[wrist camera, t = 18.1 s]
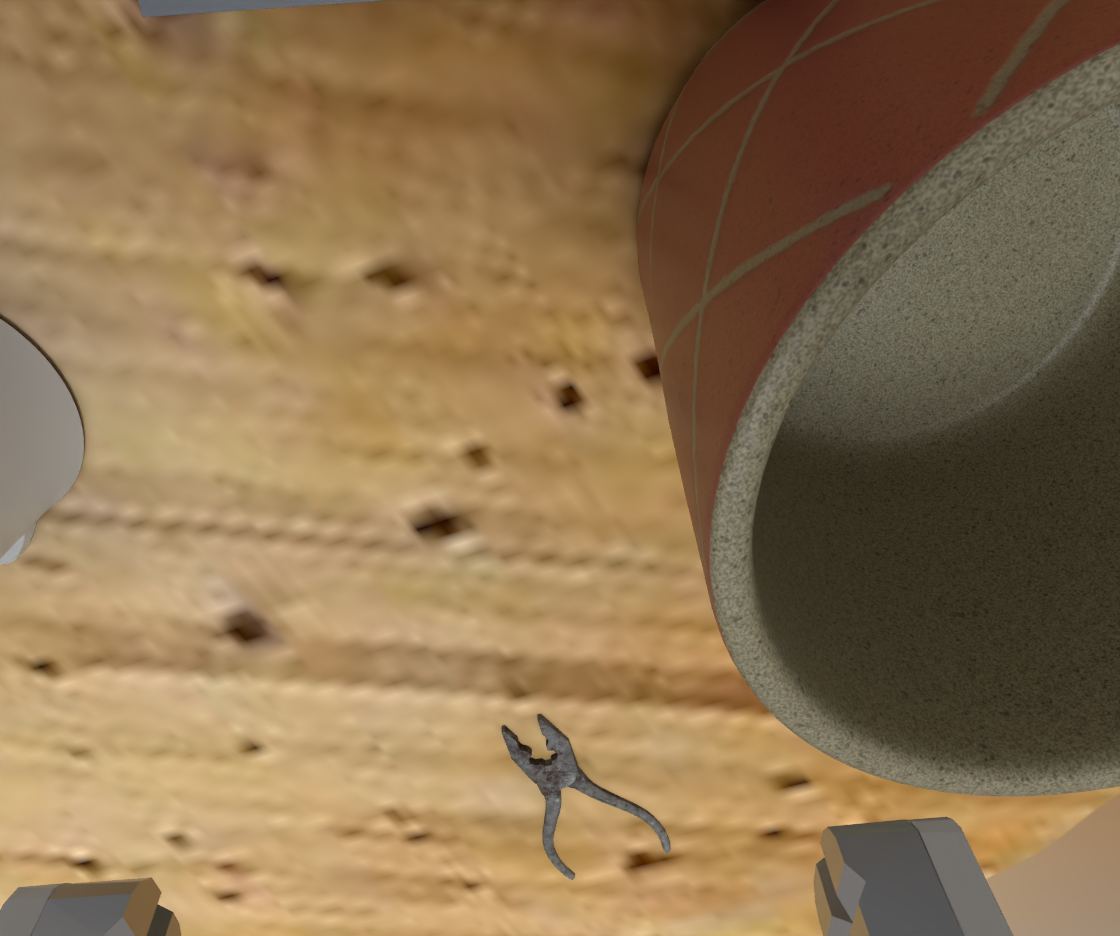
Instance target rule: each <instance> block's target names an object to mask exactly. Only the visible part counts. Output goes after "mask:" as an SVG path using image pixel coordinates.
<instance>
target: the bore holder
mask: <svg viewBox="0 0 1120 936" xmlns="http://www.w3.org/2000/svg"><path fill="white" fill-rule="evenodd" d="M369 1H383V0H138V3H139V6H140V9H141V13H142V16H143V17H152V16H167V15H181V14H196V13H210V12H224V11H239V10H253V9H268V8H282V7H297V6H311V5H325V4H340V3H354V2H369Z"/></svg>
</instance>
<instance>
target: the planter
mask: <svg viewBox="0 0 1120 936" xmlns="http://www.w3.org/2000/svg"><path fill="white" fill-rule="evenodd" d="M637 252H638V264H639V271H640V279H641V283H642V288H643V292H644V297H645V301H646V305H647V310H648V314H649V318H650V323H651V328H652V333H653V338H654V343H655V348H656V353H657V357H658V363H659V369H660V374H661V380H662V386H663V391H664V397H665V403H666V408H667V414H668V420H669V424H670V429H671V433H672V438H673V442H674V447H675V451H676V456H677V460H678V465H679V469H680V473H681V478H682V482H683V487H684V491H685V495H686V500H687V504H688V508H689V512H690V516H691V521H692V525H693V529H694V533H695V537H696V541H697V546H698V550H699V554H700V558H701V562H702V567H703V571H704V575H705V580H706V584H707V589H708V593H709V597H710V602H711V606H712V610H713V613H714V616H715V619H716V622H717V625H718V628H719V631H720V633H721V636H722V639H723V641H724V643H725V646H726V648H727V650H728V652H729V654H730V656H731V659H732V661H733V662H734V664H735V665H736V667H737V669H738V670H739V672H740V674H741V675H742V677H743V679H744V680H745V682H746V683H747V684H748V686H749V687H750V688H751V690H752V691H753V692H754V693H755V695H756V696H757V697H758V699H759V700H760V701H761V702H762V704H763V705H764V706H765V707H766V708H767V709H768V710H769V711H770V712H771V713H772V714H773V715H774V716H775V717H776V718H777V719H778V720H779V721H780V722H781V723H783V724H784V725H785V726H786V727H787V728H788V729H790V730H791V731H792V732H793V733H794V734H796V735H797V736H799V737H800V738H802V739H803V740H804V741H806V742H807V743H809V744H810V745H811V746H813V747H815V748H816V749H818V750H820V751H822V752H823V753H825V754H827V755H829V756H830V757H832V758H834V759H836V760H838V761H840V762H843V763H845V764H847V765H849V766H851V767H853V768H856V769H859V770H861V771H864V772H866V773H869V774H872V775H874V776H877V777H881V778H884V779H887V780H891V781H894V782H897V783H902V784H906V785H910V786H915V787H919V788H924V789H930V790H936V791H942V792H949V793H959V794H969V795H985V796H1038V795H1056V794H1066V793H1076V792H1085V791H1092V790H1099V789H1105V788H1112V787H1118V786H1120V0H765V1H763V2H762V3H760V4H759V5H757V6H756V7H755V8H753V9H752V10H751V11H749V12H748V13H747V14H745V15H744V16H743V17H742V18H741V19H739V20H738V21H737V22H736V23H735V24H734V25H732V26H731V27H730V28H729V29H728V30H727V31H726V32H725V33H724V34H723V35H722V36H721V37H720V38H719V39H718V40H717V41H716V42H715V44H714V45H713V46H712V47H711V48H710V49H709V50H708V52H707V53H706V54H705V55H704V57H703V58H702V60H701V61H700V63H699V64H698V66H697V67H696V69H695V70H694V72H693V73H692V75H691V76H690V78H689V80H688V81H687V83H686V84H685V86H684V88H683V89H682V91H681V93H680V94H679V96H678V98H677V99H676V101H675V103H674V105H673V106H672V108H671V110H670V112H669V114H668V116H667V118H666V120H665V122H664V124H663V126H662V128H661V130H660V133H659V135H658V137H657V140H656V142H655V145H654V147H653V150H652V153H651V156H650V159H649V162H648V165H647V169H646V173H645V177H644V180H643V185H642V190H641V196H640V201H639V210H638V219H637Z"/></svg>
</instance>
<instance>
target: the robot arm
mask: <svg viewBox="0 0 1120 936" xmlns="http://www.w3.org/2000/svg"><path fill="white" fill-rule="evenodd" d="M83 455H84V436H83V429H82V424H81V420H80V417H79V413H78V410H77V408H76V405H75V403H74V401H73V398H72V396H71V394H70V392H69V391H68V389H67V387H66V385H65V384H64V382H63V381H62V379H61V378H60V376H59V375H58V373H57V372H56V371H55V369H54V368H53V367H52V365H51V364H50V363H49V362H48V361H47V359H46V358H45V357H44V356H43V355H42V354H41V353H40V352H39V351H38V350H37V349H36V348H35V347H34V346H33V345H32V344H31V343H30V342H29V341H28V340H27V339H26V338H25V337H23V336H22V335H21V334H20V333H19V332H18V331H16V330H15V329H14V328H12V327H11V326H10V325H8V324H7V323H6V322H4V321H3V320H1V319H0V564H9V563H11V562H13V561H15V560H16V559H17V558H18V557H19V556H20V555H21V554H22V553H23V552H24V551H25V550H26V548H27V547H28V545H29V543H30V541H31V539H32V535H33V532H34V529H35V525H36V522H37V520H38V519H39V518H40V517H41V516H42V515H43V514H44V513H45V512H47V511H48V510H49V509H50V508H51V507H52V506H54V505H55V504H56V503H57V502H58V501H60V500H61V499H62V498H63V497H64V496H65V495H66V493H67V492H68V491H69V490H70V488H71V487H72V486H73V484H74V482H75V480H76V479H77V477H78V474H79V471H80V469H81V465H82V461H83ZM820 844H821V847H822V850H823V853H824V858H823V859H822V860H821V861H819V862H818V863H817V864H816V868H815V875H814V892H815V904H816V908H817V913H818V918H819V923H820V926H821V930H822V933H823V936H1013V934H1012V932H1011V930H1010V928H1009V926H1008V924H1007V921H1006V920H1005V918H1004V915H1003V913H1002V911H1001V909H1000V907H999V905H998V903H997V901H996V899H995V897H994V895H993V893H992V891H991V889H990V887H989V885H988V883H987V880H986V878H985V876H984V874H983V872H982V870H981V868H980V866H979V864H978V862H977V860H976V858H975V856H974V854H973V852H972V850H971V848H970V846H969V843H968V841H967V839H966V837H965V835H964V833H963V831H962V829H961V827H960V826H959V825H958V824H957V823H956V822H955V821H954V820H953V819H951V818H948V817H939V818H926V819H914V820H895V821H885V822H874V823H864V824H853V825H843V826H832V827H827V828H826V829H824V830H823V833H822V837H821V842H820ZM160 895H161V891H160V889H159V888H158V886H157V885H156V883H155V882H154V880H153V879H152V878H139V879H126V880H112V881H99V882H86V883H63V884H51V885H40V886H29V887H18V888H17V890H16V891H15V892H14V893H13V894H12V895H11V896H10V897H9V898H8V900H7V901H6V902H5V903H4V904H3V906H2V908H1V910H0V936H181V930H180V925H179V922H178V920H177V918H176V917H175V915H174V913H173V912H172V911H170V910H168V909H166V908H164V907H162V906H160V905H158V901H159V898H160Z"/></svg>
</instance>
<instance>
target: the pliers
mask: <svg viewBox="0 0 1120 936" xmlns="http://www.w3.org/2000/svg"><path fill="white" fill-rule="evenodd" d="M538 723H539V726H540V729H541V732H542V735H544V736H545V737H546V738H547V740H546V747H547V750H551V751H555V752H556V753H555V754H553V755H551V759H549V760H546V761H544V760H543V759H542V758H541V759H533V758H530V757H531V755H532V749H531V748H530V747H529V746H525V745H522V744H521V743H520V742H519V741H518V738H517V736H516V735H515V734H514V733H513V732H512V731H510V730H509V729H508V728H507V727H506V726H505V725H504V726H502V735H503V737H504V740H505V742H506V745H507V748H508V750H509V753H510V755H511V758H512V760H513V761H514V762H515V763H516V764H517V765H518V766H519V767H520V768H521V769H522V771H523V772H524V773H525V774H526V775H527V776H528V777H529V778H530V779H531V780H532V781H533V782H534V783H537V785H538V787H539V789H540V791H541V793H542V795H544V797H545V799H546V813H545V820H544V827H543V845H544V849H545V851H546V853H547V856H548V857H549V859H550V860H551V862H552V863H553V865H554V866H555V867H556V868H557V869H558V870H559V871H560V872H561V873H563V874H564V875H565V876H566V877H568V878H570V879H571V880H573V879H574V877H575V874H574V873H573V872H572V871H571V870H570V869H569V868H568V867H567V866H565V864H564V863H563V862H562V861H561V860H560V858H559V857H558V855H557V853H556V851H555V848H554V845H553V836H554V831H555V827H556V823H557V819H558V816H559V813H560V808H561V789H562V788H566V787H570V788H575V789H577V790H578V791H580V792H582V793H584V794H586V795H588V796H590V797H592V798H594V799H596V800H599V801H601V802H604V803H606V804H609V805H611V806H614V807H617V808H619V809H622V810H624V811H627V812H629V813H631V814H633V815H635V816H638V817H639V818H641V819H642V820H644V821H645V822H646V823H648V824H649V825H650V826H651V827H652V828H653V830H654V831H655V832H656V833H657V835H658V836H659V838H660V840H661V843H662V847H663V849H664V851H665V852H666V853H669V851H670V842H669V838H668V836H667V833H666V831H665V829H664V828H663V827H662V825H661V824H660V822H659V821H658V820H657V819H656V818H655V817H654V816H653V815H652V814H650V813H649V812H648V811H647V810H645V809H643V808H642V807H640V806H638V805H636V804H634V803H632V802H630V801H628V800H626V799H624V798H621V797H619V796H617V795H615V794H613V793H611V792H609V791H607V790H605V789H603V788H601V787H599V786H598V785H596V784H595V783H593V782H592V781H591V780H590V779H589V778H588V777H587V776H586V775H585V774H584V773H583V771H582V770H581V769H580V768H579V767H578V765H577V762H576V759H575V756H574V753H573V750H572V748H571V745H570V742H569V739H568V738H567V737H566V736H565V735H564V734H563V733H562V732H561V731H559V730H558V729H557V728H556V727H555V726H554V725H553V724H552V723H550V722H549V721H548V720H547V719H546V718H545V717H544V716H542V715H541V714H538Z"/></svg>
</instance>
